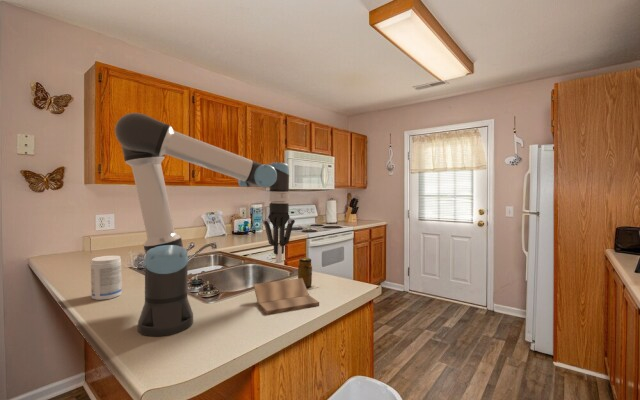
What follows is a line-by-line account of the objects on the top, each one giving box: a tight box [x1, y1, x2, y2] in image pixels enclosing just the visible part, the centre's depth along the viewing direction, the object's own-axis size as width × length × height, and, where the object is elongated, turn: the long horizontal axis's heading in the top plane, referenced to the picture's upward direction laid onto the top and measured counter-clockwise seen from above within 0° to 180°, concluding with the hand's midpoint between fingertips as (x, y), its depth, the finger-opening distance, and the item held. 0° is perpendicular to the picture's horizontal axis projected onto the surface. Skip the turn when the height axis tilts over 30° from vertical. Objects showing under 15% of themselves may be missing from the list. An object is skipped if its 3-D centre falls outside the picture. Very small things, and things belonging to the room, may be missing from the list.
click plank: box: [253, 278, 309, 306], centre depth 121 cm, size 20×8×1 cm
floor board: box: [258, 295, 320, 315], centre depth 114 cm, size 20×9×1 cm, turn 118°
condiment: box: [297, 257, 319, 291], centre depth 137 cm, size 7×8×12 cm
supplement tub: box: [90, 255, 123, 301], centre depth 119 cm, size 10×10×15 cm
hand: (278, 262), depth 125 cm, fingers closed
